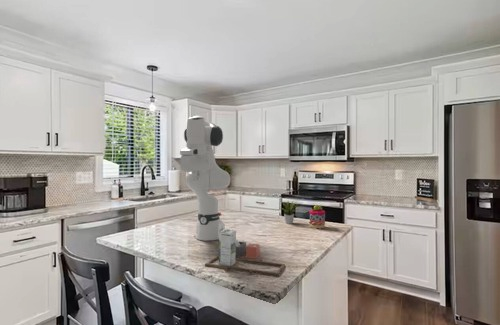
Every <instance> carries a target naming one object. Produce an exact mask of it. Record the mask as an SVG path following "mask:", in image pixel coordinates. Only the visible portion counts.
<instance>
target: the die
mask: <svg viewBox="0 0 500 325" xmlns="http://www.w3.org/2000/svg"><path fill="white" fill-rule="evenodd" d="M260 253H261V245H260V244H257V243H248V244H246V252H245V256H246V258H250V259H258V258H259V257H260V256H261V254H260Z"/></svg>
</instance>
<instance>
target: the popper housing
mask: <svg viewBox="0 0 500 325" xmlns="http://www.w3.org/2000/svg"><path fill="white" fill-rule="evenodd" d="M238 241H239V240H238ZM239 243H240V246H238V247H237V246H236V258H239V257H242V256H243V255H244V254H246V246H247V242H246V241H239Z"/></svg>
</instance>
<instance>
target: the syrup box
mask: <svg viewBox="0 0 500 325" xmlns="http://www.w3.org/2000/svg"><path fill="white" fill-rule="evenodd" d="M236 240H237V230H234V229H227V228H225V230H223V231H221V232H219V239H218V256H219V259H218V265H225V266H232V267H233V266H234V265H235V264H236V262H237V261H236V258H237V257H236Z"/></svg>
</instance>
